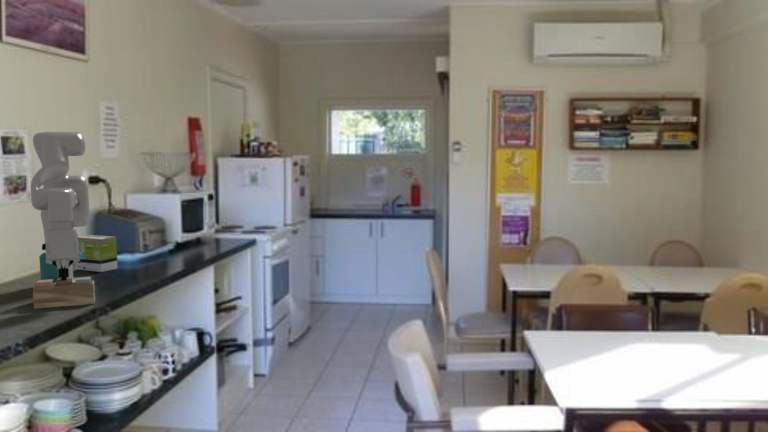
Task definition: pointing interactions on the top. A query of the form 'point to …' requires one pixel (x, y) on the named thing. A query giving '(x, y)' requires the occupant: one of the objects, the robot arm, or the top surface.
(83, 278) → the grey cube
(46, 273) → the beverage bottle
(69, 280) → the brown cube
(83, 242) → the tea box
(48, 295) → the wooden compartment box
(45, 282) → the salmon pink cube
